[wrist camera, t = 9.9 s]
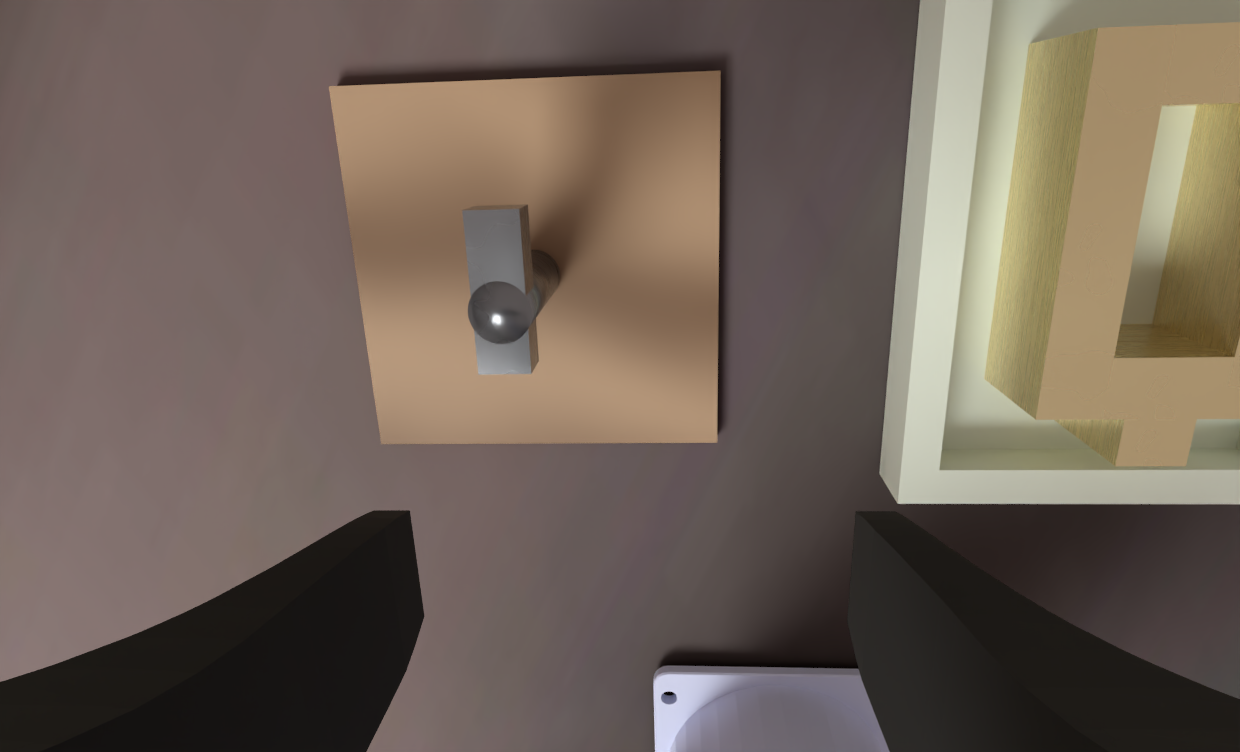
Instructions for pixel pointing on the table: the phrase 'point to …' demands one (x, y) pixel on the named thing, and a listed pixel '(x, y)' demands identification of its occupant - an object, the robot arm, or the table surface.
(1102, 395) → the gold hollow block
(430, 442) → the stake base
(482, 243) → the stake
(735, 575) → the table surface
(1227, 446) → the tray
